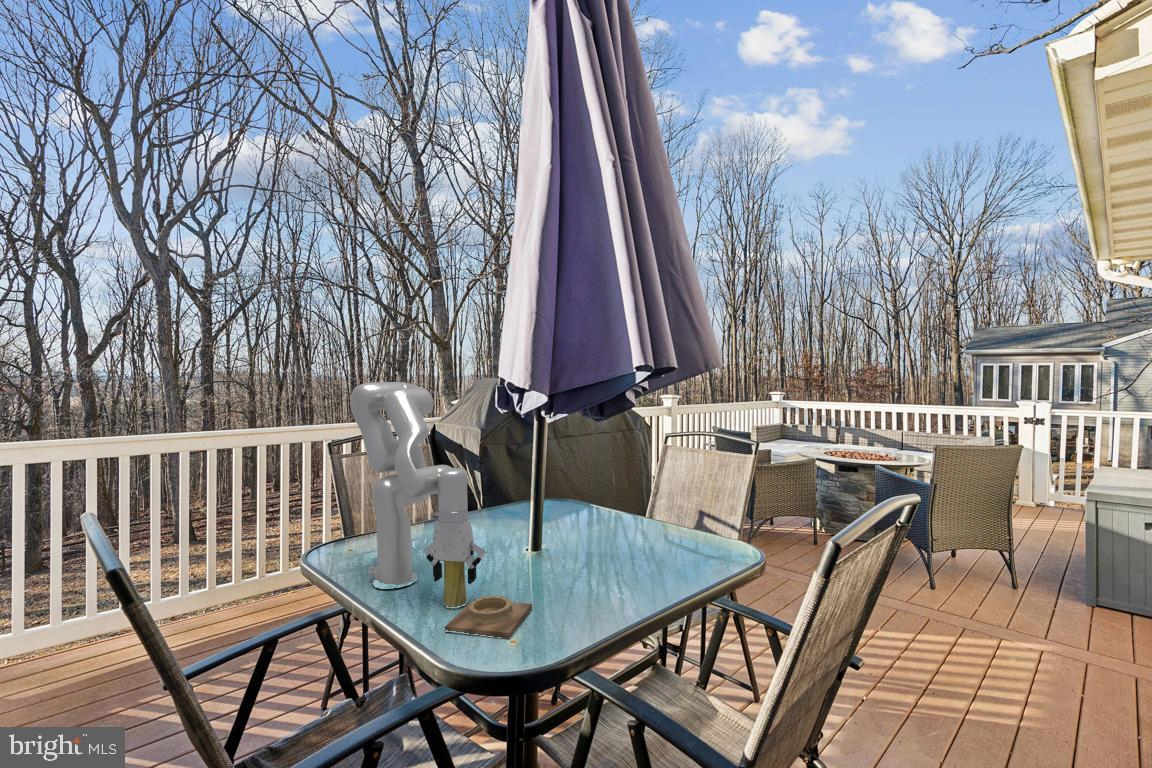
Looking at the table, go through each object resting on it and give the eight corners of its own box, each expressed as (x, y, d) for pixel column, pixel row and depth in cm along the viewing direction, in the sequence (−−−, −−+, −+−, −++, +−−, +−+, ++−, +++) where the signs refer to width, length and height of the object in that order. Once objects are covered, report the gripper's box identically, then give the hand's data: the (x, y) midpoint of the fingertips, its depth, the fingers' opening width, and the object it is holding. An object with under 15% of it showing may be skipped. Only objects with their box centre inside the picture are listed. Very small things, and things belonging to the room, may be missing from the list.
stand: (445, 632, 125) (444, 615, 125) (474, 604, 141) (474, 589, 141) (509, 639, 121) (508, 621, 121) (532, 609, 137) (531, 594, 137)
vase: (438, 606, 140) (437, 552, 140) (455, 598, 145) (454, 545, 145) (454, 611, 137) (453, 555, 137) (472, 603, 142) (470, 549, 142)
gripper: (416, 518, 139) (417, 583, 139) (477, 521, 135) (479, 588, 135) (430, 511, 147) (432, 573, 147) (489, 513, 142) (491, 577, 142)
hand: (454, 580), depth 141 cm, fingers open, 9 cm apart
